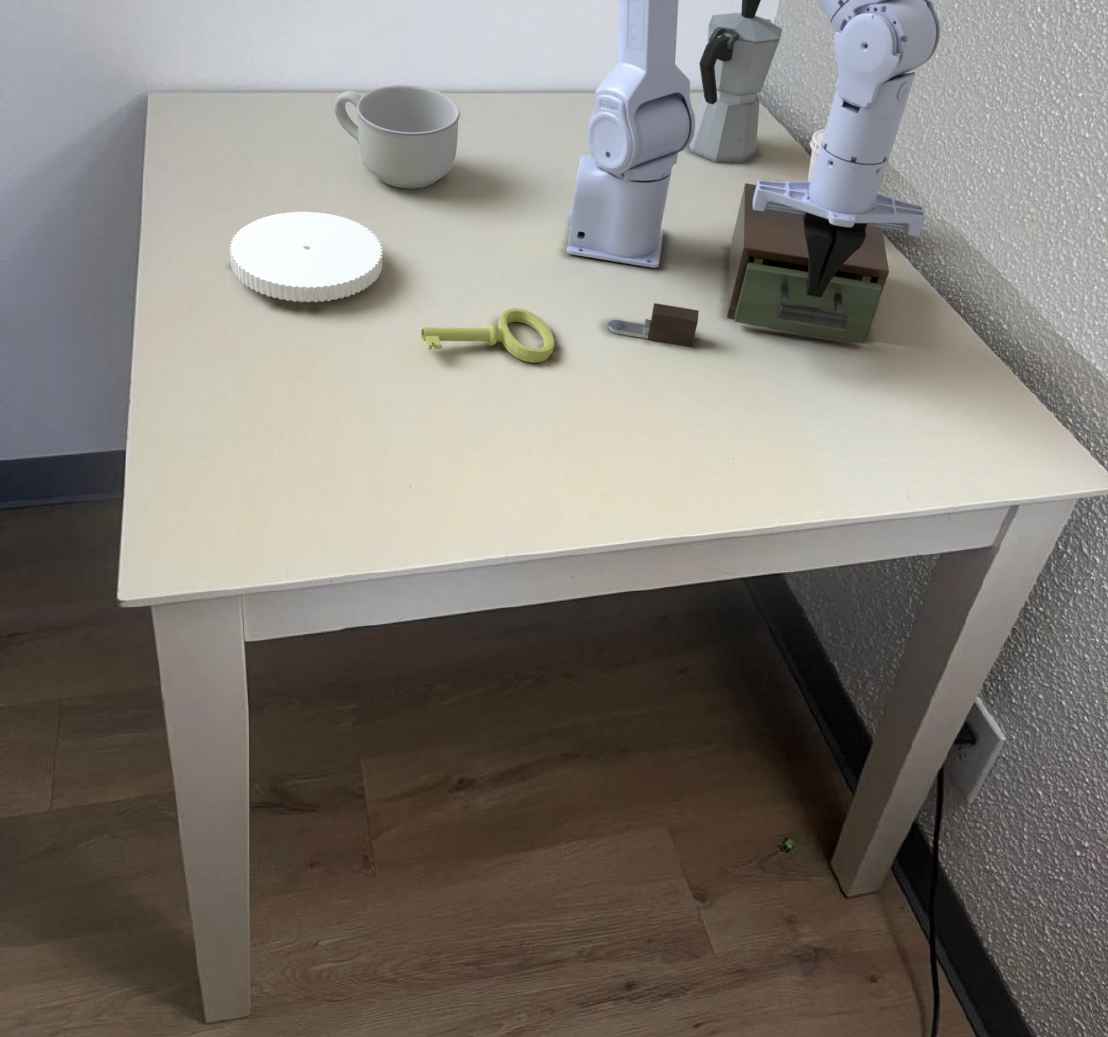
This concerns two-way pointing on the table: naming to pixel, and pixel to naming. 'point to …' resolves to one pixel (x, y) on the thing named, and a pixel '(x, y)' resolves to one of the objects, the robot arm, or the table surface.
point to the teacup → (403, 133)
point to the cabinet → (791, 246)
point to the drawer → (806, 301)
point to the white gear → (306, 256)
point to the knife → (662, 325)
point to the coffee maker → (733, 84)
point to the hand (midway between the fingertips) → (813, 290)
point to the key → (497, 335)
